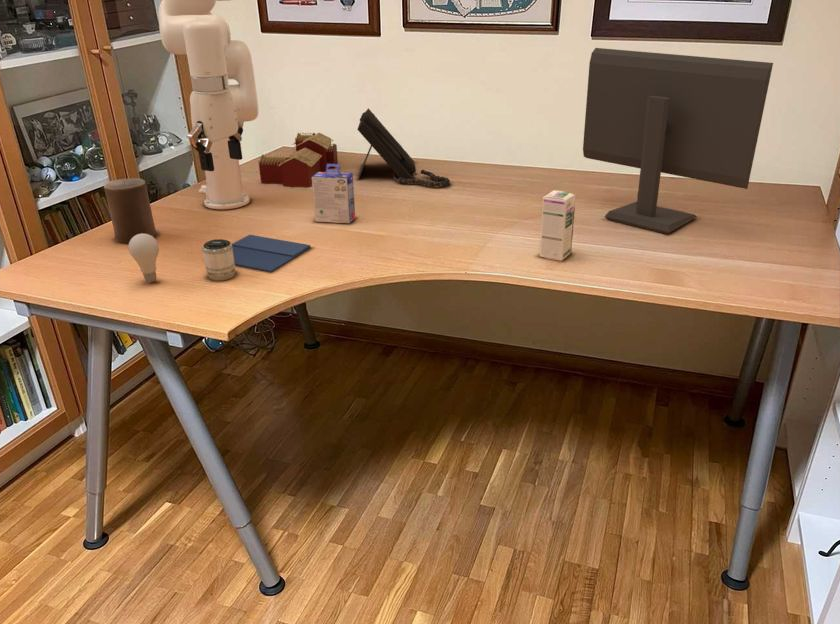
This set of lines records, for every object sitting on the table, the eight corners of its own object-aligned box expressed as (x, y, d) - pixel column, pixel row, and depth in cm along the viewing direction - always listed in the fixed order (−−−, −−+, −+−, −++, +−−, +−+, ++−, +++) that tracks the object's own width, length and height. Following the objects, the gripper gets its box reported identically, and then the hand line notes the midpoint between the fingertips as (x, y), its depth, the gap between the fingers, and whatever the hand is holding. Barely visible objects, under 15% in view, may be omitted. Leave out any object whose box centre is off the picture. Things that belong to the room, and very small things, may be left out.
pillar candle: (141, 245, 174) (127, 185, 167) (107, 241, 177) (93, 182, 169) (164, 231, 182) (152, 174, 175) (132, 228, 185) (119, 171, 177)
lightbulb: (140, 277, 157) (129, 230, 152) (168, 275, 157) (159, 228, 152) (133, 288, 152) (122, 240, 146) (162, 287, 152) (152, 238, 147)
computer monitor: (746, 230, 178) (785, 59, 158) (719, 248, 167) (757, 67, 148) (593, 195, 204) (610, 44, 184) (562, 209, 193) (576, 51, 174)
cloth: (207, 260, 165) (207, 256, 165) (249, 237, 178) (249, 234, 177) (271, 272, 158) (270, 269, 158) (310, 248, 171) (310, 245, 171)
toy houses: (318, 187, 214) (316, 153, 209) (253, 185, 217) (249, 152, 212) (350, 150, 253) (348, 121, 248) (294, 149, 255) (291, 120, 250)
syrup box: (562, 261, 161) (567, 199, 154) (538, 256, 164) (542, 195, 157) (571, 253, 166) (577, 192, 158) (547, 248, 168) (552, 189, 161)
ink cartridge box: (356, 217, 190) (353, 163, 183) (350, 224, 185) (347, 169, 178) (321, 215, 192) (316, 161, 185) (314, 222, 187) (309, 167, 180)
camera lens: (210, 270, 160) (204, 237, 156) (238, 269, 160) (233, 236, 156) (204, 281, 154) (198, 248, 150) (233, 280, 155) (228, 247, 151)
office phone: (450, 188, 211) (450, 118, 201) (355, 189, 212) (351, 119, 202) (447, 162, 237) (448, 99, 227) (363, 163, 237) (360, 100, 227)
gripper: (222, 76, 158) (233, 153, 166) (167, 90, 144) (182, 173, 153) (250, 78, 155) (259, 156, 164) (196, 93, 141) (210, 177, 150)
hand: (222, 164), depth 158 cm, fingers open, 9 cm apart
